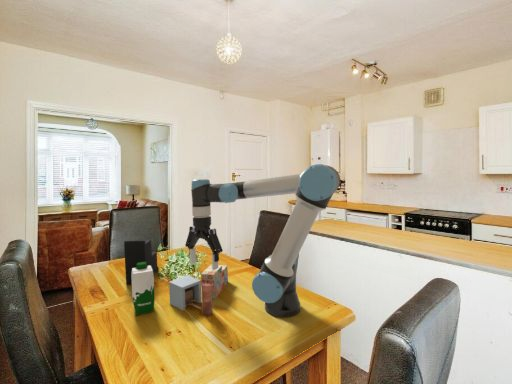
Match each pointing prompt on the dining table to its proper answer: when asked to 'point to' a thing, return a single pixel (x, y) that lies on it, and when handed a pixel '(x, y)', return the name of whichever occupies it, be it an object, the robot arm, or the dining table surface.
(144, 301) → the milk carton
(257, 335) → the dining table surface
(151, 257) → the bookend
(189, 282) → the box
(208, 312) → the tethered block
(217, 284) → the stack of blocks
